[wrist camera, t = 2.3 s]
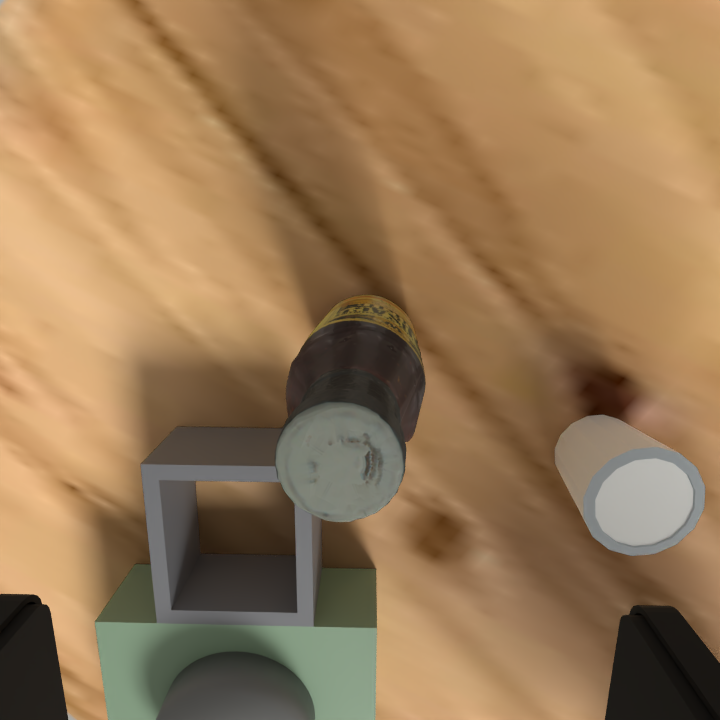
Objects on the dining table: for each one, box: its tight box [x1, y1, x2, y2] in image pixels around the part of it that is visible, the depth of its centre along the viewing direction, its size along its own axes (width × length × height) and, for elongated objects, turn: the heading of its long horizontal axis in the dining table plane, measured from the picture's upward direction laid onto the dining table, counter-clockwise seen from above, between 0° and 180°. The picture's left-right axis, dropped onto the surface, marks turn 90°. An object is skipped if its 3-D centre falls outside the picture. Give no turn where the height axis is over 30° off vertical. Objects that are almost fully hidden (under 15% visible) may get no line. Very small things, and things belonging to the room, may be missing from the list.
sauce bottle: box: [275, 295, 425, 522], centre depth 26 cm, size 6×6×20 cm
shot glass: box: [555, 415, 705, 556], centre depth 34 cm, size 7×7×7 cm
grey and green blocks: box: [95, 427, 377, 720], centre depth 36 cm, size 18×25×9 cm
